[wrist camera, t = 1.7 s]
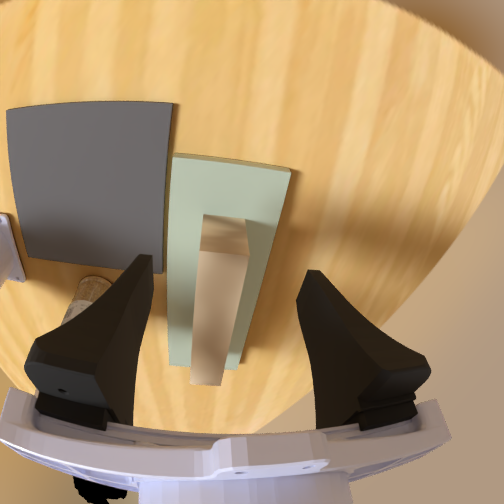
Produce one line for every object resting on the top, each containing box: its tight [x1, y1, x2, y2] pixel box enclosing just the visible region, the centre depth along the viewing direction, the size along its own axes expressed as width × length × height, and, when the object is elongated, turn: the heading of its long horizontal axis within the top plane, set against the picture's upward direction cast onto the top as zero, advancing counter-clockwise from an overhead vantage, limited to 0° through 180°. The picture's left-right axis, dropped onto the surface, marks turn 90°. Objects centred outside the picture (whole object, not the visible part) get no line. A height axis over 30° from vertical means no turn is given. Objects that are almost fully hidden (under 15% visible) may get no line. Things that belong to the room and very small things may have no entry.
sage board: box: [167, 153, 291, 370], centre depth 26 cm, size 8×24×1 cm, turn 169°
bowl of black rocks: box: [72, 475, 128, 504], centre depth 62 cm, size 20×20×19 cm
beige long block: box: [190, 214, 250, 386], centre depth 24 cm, size 3×16×4 cm, turn 169°
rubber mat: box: [6, 101, 173, 274], centre depth 19 cm, size 14×14×1 cm
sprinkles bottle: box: [34, 276, 112, 398], centre depth 20 cm, size 5×5×13 cm
